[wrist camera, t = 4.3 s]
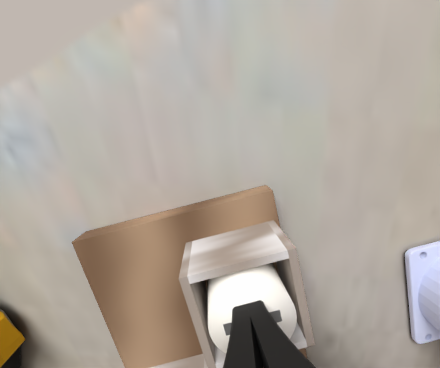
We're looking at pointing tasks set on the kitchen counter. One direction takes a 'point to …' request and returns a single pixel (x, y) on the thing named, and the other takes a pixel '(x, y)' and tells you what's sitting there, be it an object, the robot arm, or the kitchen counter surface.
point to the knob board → (185, 275)
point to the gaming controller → (9, 343)
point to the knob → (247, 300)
